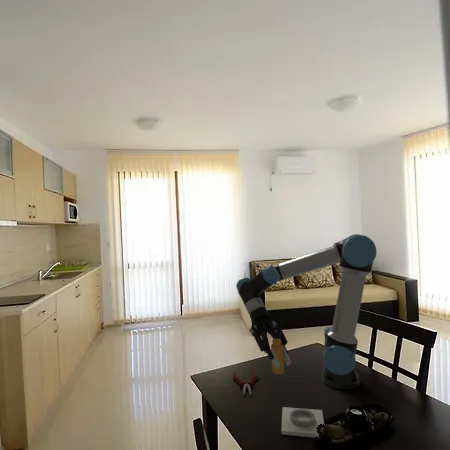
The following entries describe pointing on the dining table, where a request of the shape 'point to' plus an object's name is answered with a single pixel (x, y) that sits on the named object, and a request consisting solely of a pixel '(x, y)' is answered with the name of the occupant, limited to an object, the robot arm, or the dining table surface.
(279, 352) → the orange peg
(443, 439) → the dining table surface
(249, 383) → the pliers
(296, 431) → the plate
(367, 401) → the dining table surface
